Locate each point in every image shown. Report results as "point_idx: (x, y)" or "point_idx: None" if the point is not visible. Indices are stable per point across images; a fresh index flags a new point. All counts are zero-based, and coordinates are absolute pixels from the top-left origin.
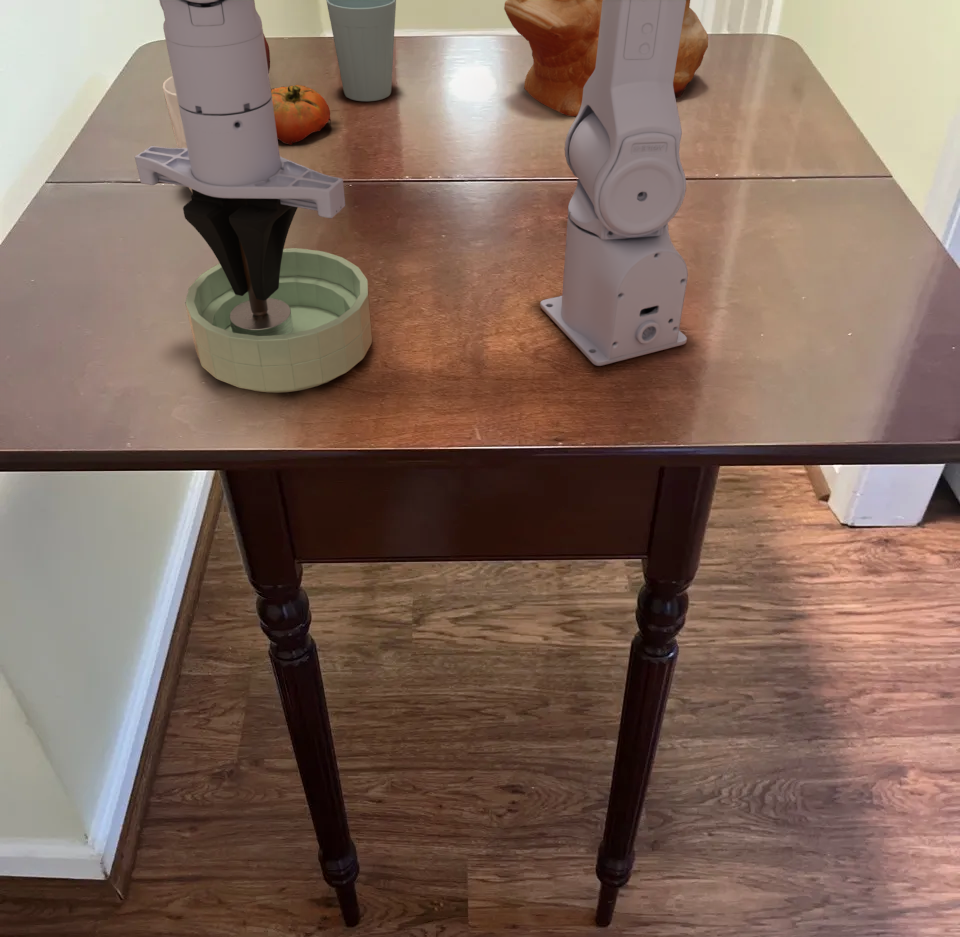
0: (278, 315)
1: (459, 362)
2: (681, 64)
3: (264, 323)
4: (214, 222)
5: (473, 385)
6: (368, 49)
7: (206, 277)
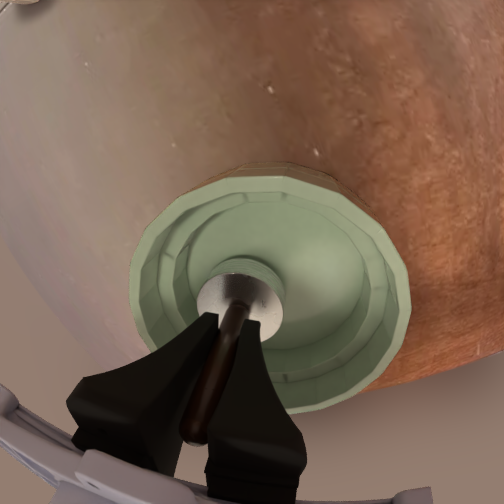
0: (267, 312)
1: (478, 256)
2: None
3: None
4: (173, 473)
5: (486, 291)
6: None
7: (139, 305)
